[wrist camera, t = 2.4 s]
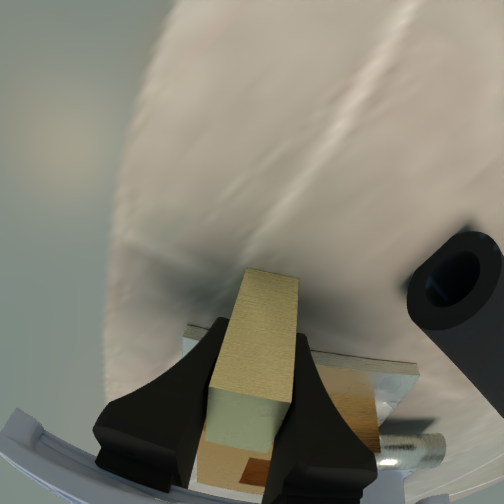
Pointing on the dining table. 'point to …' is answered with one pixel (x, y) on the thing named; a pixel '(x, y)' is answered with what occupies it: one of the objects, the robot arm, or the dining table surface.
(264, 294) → the pale wooden brick
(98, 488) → the robot arm
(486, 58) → the dining table surface
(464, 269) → the pipe connector
